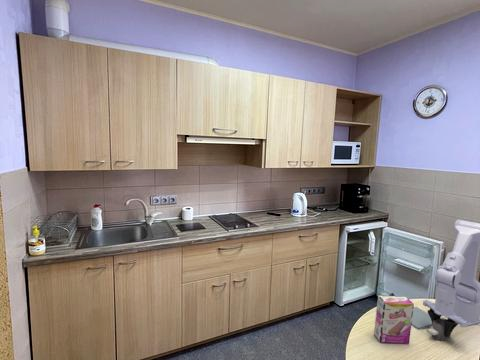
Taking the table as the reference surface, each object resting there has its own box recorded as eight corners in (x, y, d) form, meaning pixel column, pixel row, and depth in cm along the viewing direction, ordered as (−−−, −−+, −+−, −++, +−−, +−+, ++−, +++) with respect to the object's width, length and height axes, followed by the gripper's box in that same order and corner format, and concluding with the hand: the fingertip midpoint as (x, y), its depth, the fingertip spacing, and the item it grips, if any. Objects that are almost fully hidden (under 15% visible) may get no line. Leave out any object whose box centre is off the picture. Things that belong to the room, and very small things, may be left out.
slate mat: (416, 308, 117) (416, 306, 117) (441, 323, 107) (441, 321, 107) (393, 313, 113) (393, 311, 113) (417, 329, 102) (418, 327, 102)
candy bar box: (380, 344, 94) (384, 302, 92) (373, 334, 99) (376, 294, 97) (410, 345, 94) (414, 303, 92) (401, 335, 99) (405, 295, 97)
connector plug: (442, 331, 102) (444, 317, 101) (452, 337, 98) (454, 323, 98) (425, 336, 98) (426, 322, 98) (434, 342, 95) (436, 328, 95)
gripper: (419, 291, 103) (415, 322, 104) (459, 312, 89) (455, 348, 90) (431, 289, 105) (427, 319, 106) (472, 309, 91) (468, 344, 93)
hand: (441, 332), depth 99 cm, fingers closed on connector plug, 4 cm apart
